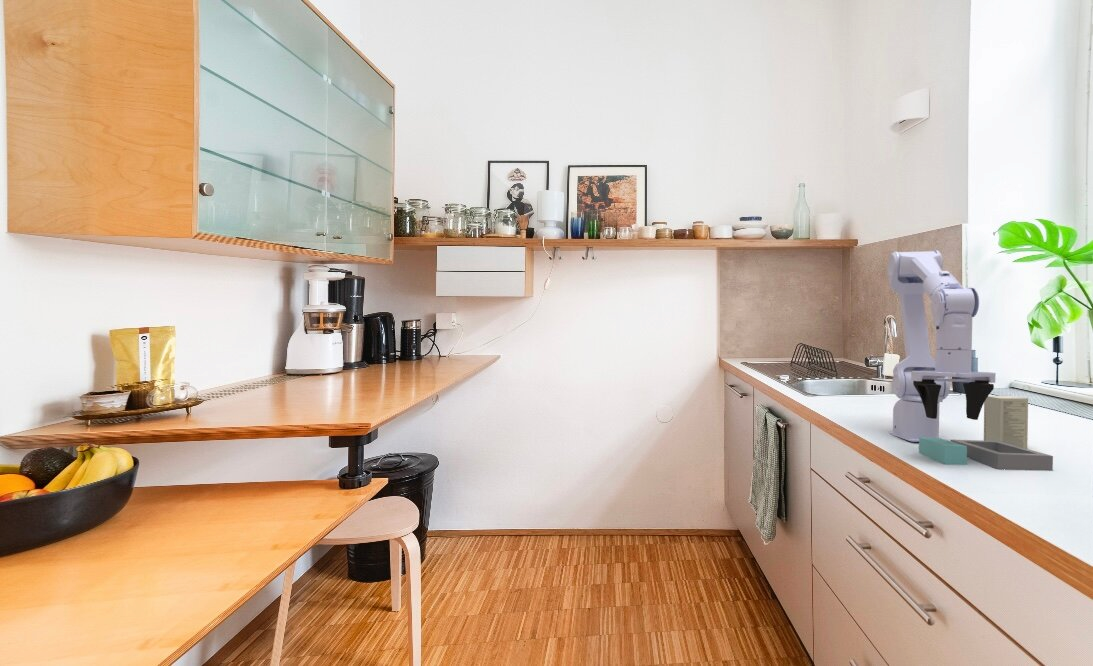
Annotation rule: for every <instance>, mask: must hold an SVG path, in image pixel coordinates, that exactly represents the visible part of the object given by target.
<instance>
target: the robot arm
mask: <svg viewBox="0 0 1093 666" xmlns="http://www.w3.org/2000/svg"><path fill="white" fill-rule="evenodd" d="M943 266H944V259H943V255H942V253H941V252H940V251H939V250H933V251H932V250H931V251H927V250H926V251H893V252H892V253H891V254H890V255H889V257H888V263H887V274H888V275H887V276H888V284H889V287H890V290H892V291H894V292H896V293H897V296H898V301H899V308H900V309H899V310H900V316H901V317H900V318H901V327H902V335H903V343H904V355H905V358H904V359H902V360H901V361H899V362H898V363H896V365H894V368H893V370H892V376H893V377H892V390H893V393H894V395H895V396H896V397H897V398H898V399H899V400H897V401H896V402H895V403H894V405H893V409H892V431H888V434H889V435H892V436H894V437H896V438H900V439H903V440H906V441H907V442H908V441H909V442H911V443H912V442H913V443H919V437H926V438H940V405H941V404H940V403H943V400H945V399H946V398H948V396H949V394H950V390H951V383H950V382H956V383H958V382H963V383H962V385H963V388H964V389H963V390H964V394H965V401H966V404H965V405H966V407H965V410H966V411H965V412H966V413H965V414H966V419H969V420H973V421H975V420H976V421H978V420H979V416H980V414H981V411H982V408H983V407H984V402H985V400H986V398H987V397H988V396H990V394H991V393H992V392H993V391H994V388H995V386H994V383H995V384H996V372H989V371H972V358H973V357H972V352H973V351H972V350H973V349H972V345H973V344H972V343H973V318H975V317H976V315H977V314H978V311H979V308H980V296H979V293H978V291H977V290H976V288H975V287H963V286H962V284H961V282H960V281H958V279H956V278H955V276H954V275H953V274H952V273H951V272H949V270H943ZM924 294H926V295H927V296H928V298H929V300H930V301H931V302H930V309H931V314H932V323H933V326H935V351H934V352H935V353H934V357H933V356H932V355H931V348H930V340H929V331H928V324H927V317H926V316H927V315H926V309H925V307H926V306H925V300H924Z"/></svg>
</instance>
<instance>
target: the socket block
mask: <svg viewBox="0 0 1093 666" xmlns="http://www.w3.org/2000/svg"><path fill="white" fill-rule="evenodd" d="M949 441H951V442H955V443H958V444H961V445H965V446H967V458H969V459H971V460H974V461H976V462H978V463H981V464H982V465H986V466H988V467H990V468H993V469H995V470H997V469H998V470H1000V471H1046V472H1047V471H1049V472H1050V471H1052V472H1053V471H1054V469H1053V468H1054V467H1053V466H1054V463H1053V462H1054V456H1053V455H1051V454H1048V453H1043V452H1040V451H1037V450H1032V449H1029V448H1027V449H1026V448H1022V447H1018V446H1015V445H1011V444H1008V443H1004V442H1000V441H984V440H981V439H980V440H978V439H977V440H974V439H950V440H949ZM1004 469H1005V470H1004ZM998 470H997V471H998Z"/></svg>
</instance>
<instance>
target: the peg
mask: <svg viewBox="0 0 1093 666" xmlns="http://www.w3.org/2000/svg"><path fill="white" fill-rule="evenodd" d="M918 453H919V454H920V455H923V456H925V457H927V458H929V459H931V460H933V461H935V462H938V463H941V464H943V465H946V466H948V465H950V466H951V465H952V466H953V465H954V466H960V465H961V466H963V465H964V466H966V465H968V464H967V462H968V457H967V446H965V445H961V444H958V443H955V442H951V441H950V440H949V439H944V438H942V437H939V438H926V437H919V442H918Z"/></svg>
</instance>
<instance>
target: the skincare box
mask: <svg viewBox="0 0 1093 666" xmlns="http://www.w3.org/2000/svg"><path fill="white" fill-rule="evenodd" d="M1028 424H1029V398H1028V397H1022V396H1017V395H1011V394H1010V395H988V397H987V398H986V400H985V402H984V404H983V441H1000V442H1004V443H1008V444H1011V445H1015V446H1018V447H1022V448H1026V449H1028V441H1029V440H1028V439H1029V438H1028V437H1029V436H1028V435H1029V434H1028V433H1029V430H1028V429H1029V427H1028V426H1029V425H1028Z"/></svg>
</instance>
